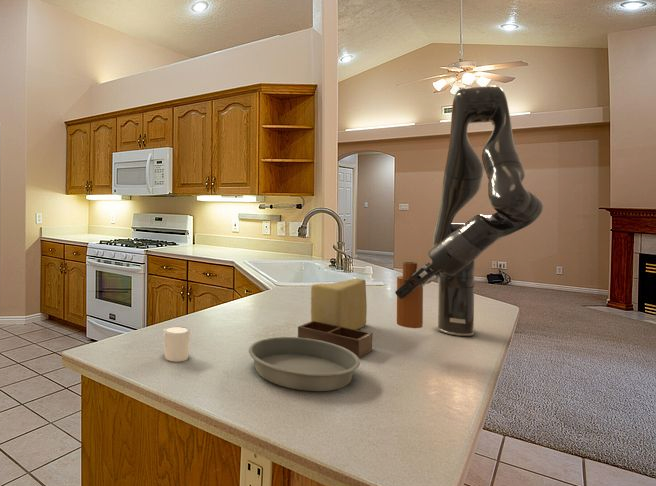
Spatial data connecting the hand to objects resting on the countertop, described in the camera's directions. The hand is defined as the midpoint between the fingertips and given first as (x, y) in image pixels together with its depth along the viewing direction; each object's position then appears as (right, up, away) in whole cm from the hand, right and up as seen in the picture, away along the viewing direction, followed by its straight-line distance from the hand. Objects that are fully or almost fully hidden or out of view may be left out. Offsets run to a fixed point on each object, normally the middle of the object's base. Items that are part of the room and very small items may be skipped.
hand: (402, 293), depth 116 cm
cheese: (-7, -16, +22) cm, 28 cm away
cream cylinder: (-58, -16, -3) cm, 61 cm away
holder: (-15, -16, +6) cm, 23 cm away
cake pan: (-29, -16, -12) cm, 36 cm away
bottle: (+1, -8, -1) cm, 8 cm away
